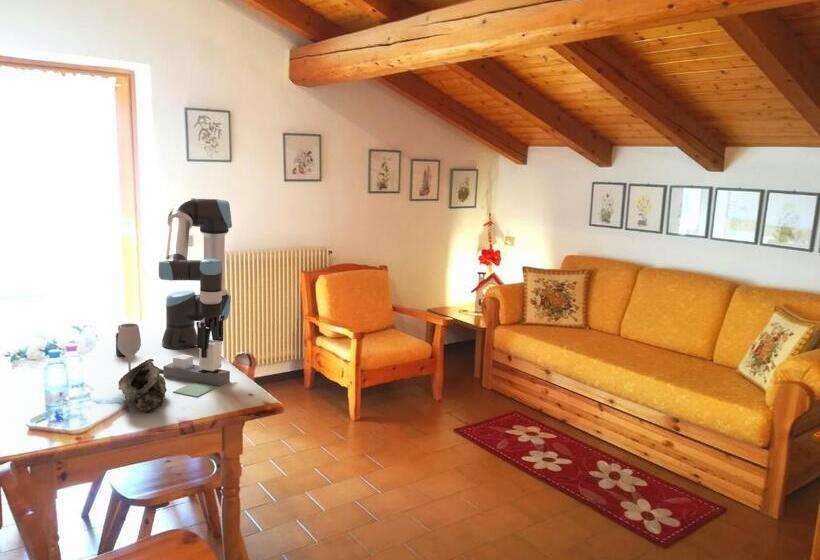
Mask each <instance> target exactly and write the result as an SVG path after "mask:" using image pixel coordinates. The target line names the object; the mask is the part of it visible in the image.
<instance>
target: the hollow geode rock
mask: <svg viewBox="0 0 820 560" xmlns="http://www.w3.org/2000/svg"><path fill="white" fill-rule="evenodd" d="M154 361H155V360H154V358H149V359H147V360H145V361H143V362H141V363H139V364H138V365H137V366H135V367H133V368H131V370H130V371H129V370H128V372H127V373H126V374H124V375H123V376H122V377H121V378H120V379H119V381H118V383H117V384H118V390H120V391H122V395H124V399H126V400H131V401H134V404H135V407H136V409H137V410H138V411H140V412H142V413H146V414H150V413H154V411H156V410H157V409H159V408H160V407H162V406H163V404H164V400H165V398H166V392H167V387H166V384H167V383H166V380H165V378H164V376H162V375H161V372H160V370H159V369H160V368H159V367H158V366H157V365H155V364H154V363H153V362H154Z"/></svg>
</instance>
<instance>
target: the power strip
mask: <svg viewBox="0 0 820 560" xmlns="http://www.w3.org/2000/svg"><path fill="white" fill-rule="evenodd" d="M159 370H160V373H163V376H162V377H163V378H164V377H165V378H169V379H175V380H180V381H184V382H190V383H193V382H194V383H200V384H205V385H210V386H215V387H217V388H219V387H221V386H224V385H225V384H228V383H229V382H230V379H231V378H230V377H231V376H230V375H231V371H230V370H225V369H221V368H219V369H217V370H214V371H210V370H204V369H199V364H198V365H197V364H194V363H193V366H192V367H190V368H187V369H185V370H184V369H179V368H173V362H170V363H168V364H165V365H164V366H163V367H162V368H159Z"/></svg>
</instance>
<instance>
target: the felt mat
mask: <svg viewBox="0 0 820 560" xmlns="http://www.w3.org/2000/svg"><path fill="white" fill-rule="evenodd" d="M217 388H218V387H216V386H210V385H205V384H200V383H195V382H190V383H189V384H186V385H184V386H181V388H180V387H179V388H178V389H175V390H173V391H172V393H175V394H178V395H179V394H180V395H182V396H183V395H184V396H189V397H192V398H193V397H194V398H198V397H201V396H203V395H205V394H207V393H209V392H211V391H213V390H215V389H217Z"/></svg>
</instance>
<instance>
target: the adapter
mask: <svg viewBox="0 0 820 560" xmlns="http://www.w3.org/2000/svg"><path fill="white" fill-rule="evenodd" d="M172 363H173V368H179V369H184V370H185V369H187V368H190V367H192V366H193V364H194V356H193V355H188V354H183V353H182V354H179V355H176V356H174V357H173V358H172Z"/></svg>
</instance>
